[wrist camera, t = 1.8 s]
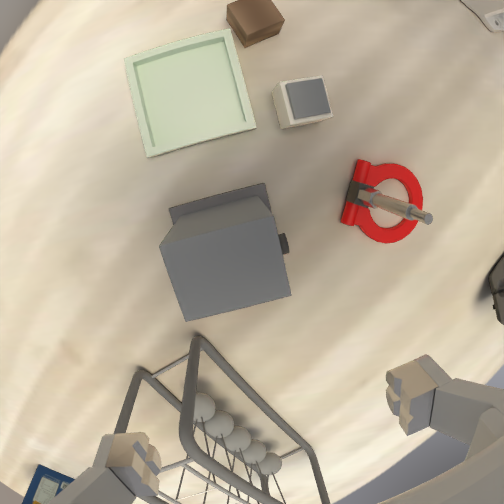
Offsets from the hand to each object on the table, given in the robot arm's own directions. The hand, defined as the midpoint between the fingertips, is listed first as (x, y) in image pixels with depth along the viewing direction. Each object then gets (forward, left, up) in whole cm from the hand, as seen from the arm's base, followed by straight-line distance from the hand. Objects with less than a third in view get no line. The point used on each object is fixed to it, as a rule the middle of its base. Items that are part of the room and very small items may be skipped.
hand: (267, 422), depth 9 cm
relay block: (-9, -11, -26) cm, 30 cm away
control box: (+1, 0, -26) cm, 26 cm away
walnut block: (-7, -21, -26) cm, 34 cm away
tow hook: (-17, +1, -26) cm, 31 cm away
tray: (+1, -15, -26) cm, 30 cm away
